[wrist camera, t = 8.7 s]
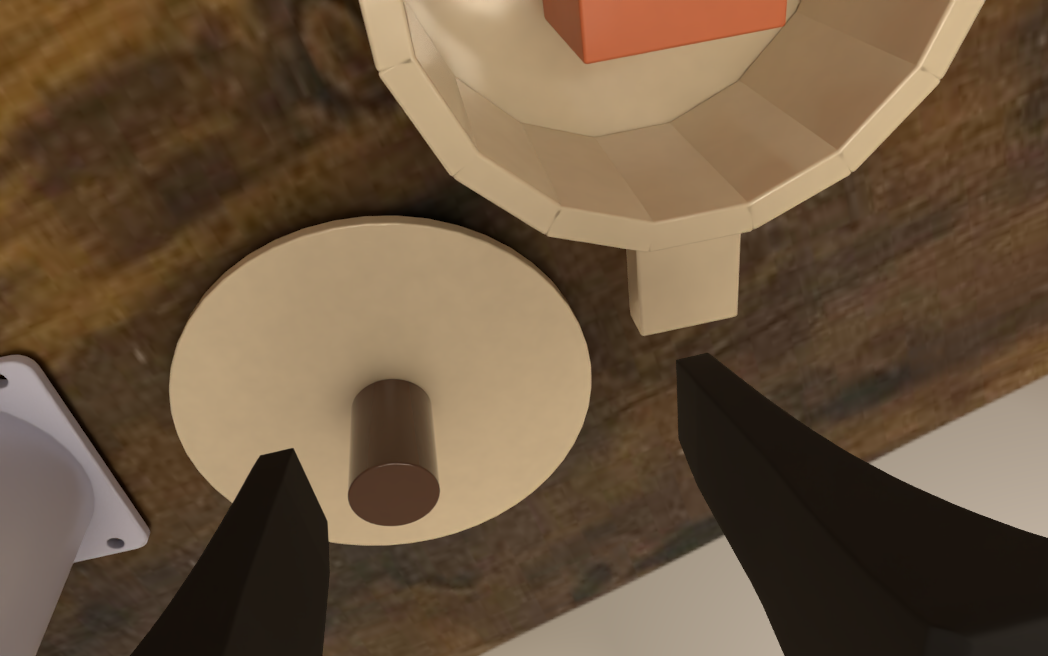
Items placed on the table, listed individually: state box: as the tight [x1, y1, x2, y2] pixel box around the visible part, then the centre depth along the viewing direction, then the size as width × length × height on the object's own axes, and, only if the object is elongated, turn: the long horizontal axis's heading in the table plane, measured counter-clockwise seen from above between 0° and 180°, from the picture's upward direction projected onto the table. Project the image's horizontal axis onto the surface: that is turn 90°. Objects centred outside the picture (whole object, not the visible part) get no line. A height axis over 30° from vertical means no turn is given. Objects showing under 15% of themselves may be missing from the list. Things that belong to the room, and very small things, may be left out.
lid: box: [169, 216, 592, 546], centre depth 21 cm, size 12×12×5 cm
